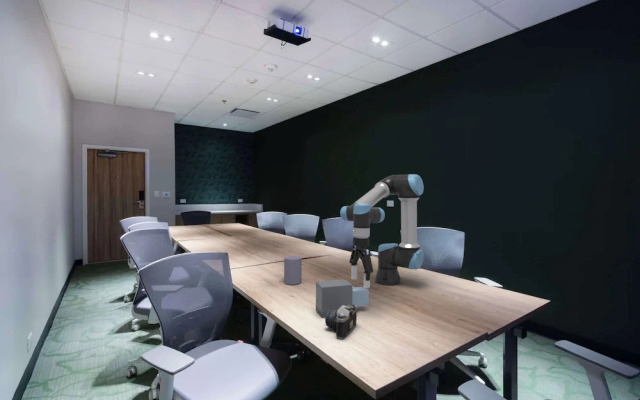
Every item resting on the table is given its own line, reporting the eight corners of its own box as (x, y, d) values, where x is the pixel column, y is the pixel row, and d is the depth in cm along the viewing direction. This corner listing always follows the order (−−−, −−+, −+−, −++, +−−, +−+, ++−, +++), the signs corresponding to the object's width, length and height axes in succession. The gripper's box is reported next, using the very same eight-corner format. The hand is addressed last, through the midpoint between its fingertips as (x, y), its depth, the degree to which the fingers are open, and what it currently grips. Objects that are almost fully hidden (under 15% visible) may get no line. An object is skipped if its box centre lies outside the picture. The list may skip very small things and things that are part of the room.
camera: (335, 319, 128) (336, 296, 128) (359, 324, 124) (359, 300, 124) (319, 335, 114) (320, 309, 114) (345, 341, 110) (345, 314, 109)
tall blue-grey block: (363, 301, 143) (363, 286, 143) (368, 304, 138) (368, 289, 138) (327, 304, 138) (327, 289, 137) (331, 309, 133) (331, 293, 133)
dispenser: (345, 307, 142) (345, 279, 142) (353, 314, 134) (353, 284, 134) (315, 310, 138) (316, 281, 138) (321, 318, 129) (322, 287, 129)
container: (304, 283, 179) (304, 258, 179) (289, 286, 173) (289, 260, 173) (295, 279, 187) (296, 255, 187) (280, 281, 182) (281, 257, 181)
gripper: (343, 233, 150) (342, 276, 150) (365, 241, 126) (364, 292, 126) (357, 233, 152) (356, 275, 152) (381, 240, 128) (380, 290, 128)
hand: (360, 283), depth 139 cm, fingers open, 13 cm apart
